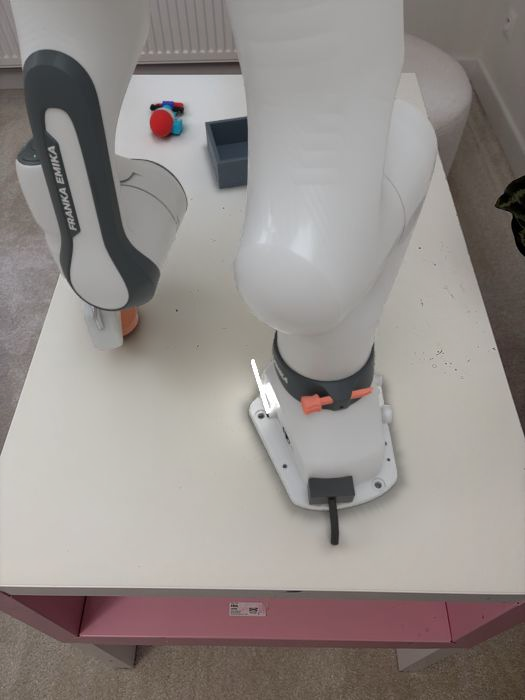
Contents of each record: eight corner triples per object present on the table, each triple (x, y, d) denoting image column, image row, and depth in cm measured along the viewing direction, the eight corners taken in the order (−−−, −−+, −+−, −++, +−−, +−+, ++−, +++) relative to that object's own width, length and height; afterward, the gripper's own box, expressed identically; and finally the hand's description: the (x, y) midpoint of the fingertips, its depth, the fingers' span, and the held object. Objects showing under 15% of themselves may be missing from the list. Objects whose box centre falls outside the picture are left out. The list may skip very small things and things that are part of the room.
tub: (288, 178, 100) (289, 152, 96) (219, 189, 99) (217, 163, 94) (272, 137, 108) (272, 112, 103) (207, 147, 106) (204, 122, 102)
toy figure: (153, 112, 116) (141, 141, 106) (151, 89, 113) (139, 116, 102) (187, 115, 117) (179, 144, 106) (186, 92, 113) (178, 119, 103)
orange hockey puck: (141, 337, 79) (138, 328, 77) (96, 346, 78) (92, 336, 76) (137, 303, 83) (134, 294, 81) (94, 311, 82) (90, 302, 80)
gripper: (118, 306, 62) (142, 368, 74) (108, 198, 74) (130, 266, 85) (65, 316, 61) (97, 377, 73) (63, 205, 73) (91, 272, 84)
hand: (114, 316), depth 79 cm, fingers open, 7 cm apart
